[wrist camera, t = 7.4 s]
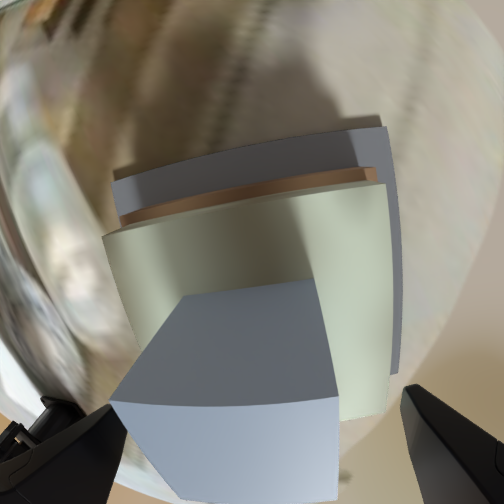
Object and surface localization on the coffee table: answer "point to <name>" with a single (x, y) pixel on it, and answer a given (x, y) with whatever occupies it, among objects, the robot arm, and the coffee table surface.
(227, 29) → the coffee table surface
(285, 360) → the top block
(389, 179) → the grey square plate
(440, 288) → the coffee table surface
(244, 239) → the plinth
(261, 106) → the coffee table surface
